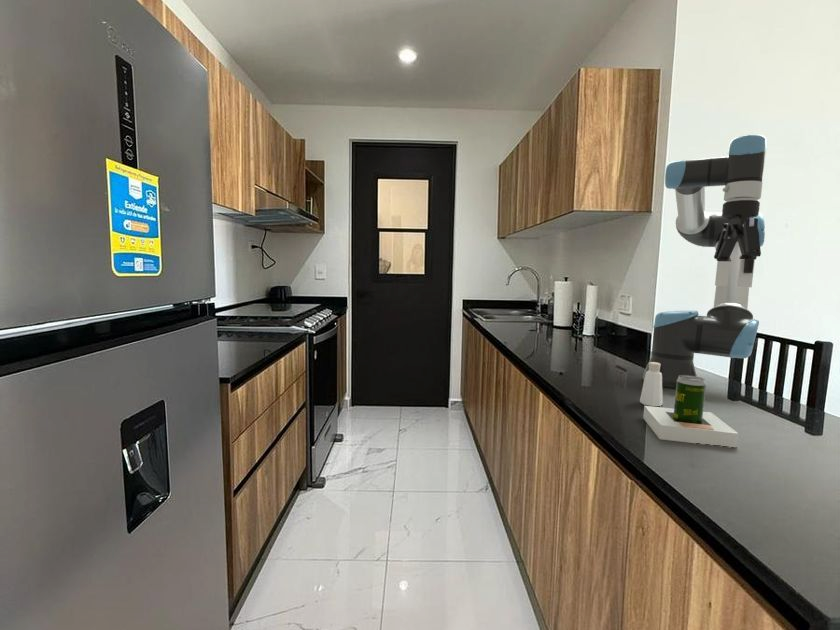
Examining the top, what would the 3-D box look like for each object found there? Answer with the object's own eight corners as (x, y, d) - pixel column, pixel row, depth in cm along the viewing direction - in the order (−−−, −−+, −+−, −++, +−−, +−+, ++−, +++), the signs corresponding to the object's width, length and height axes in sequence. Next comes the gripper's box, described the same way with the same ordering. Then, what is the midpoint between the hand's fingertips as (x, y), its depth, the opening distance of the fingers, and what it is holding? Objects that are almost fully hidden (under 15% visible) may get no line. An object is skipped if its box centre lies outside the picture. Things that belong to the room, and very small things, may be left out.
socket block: (643, 418, 105) (644, 404, 105) (709, 425, 102) (711, 411, 101) (659, 439, 92) (660, 424, 91) (736, 448, 88) (738, 432, 88)
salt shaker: (663, 408, 114) (668, 365, 113) (640, 405, 116) (644, 363, 115) (661, 402, 119) (665, 362, 118) (638, 399, 121) (642, 359, 120)
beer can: (691, 428, 99) (696, 375, 98) (706, 437, 94) (712, 381, 93) (667, 426, 99) (672, 374, 98) (680, 435, 94) (685, 380, 93)
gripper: (705, 208, 124) (698, 284, 126) (747, 192, 100) (737, 287, 102) (736, 208, 122) (728, 285, 124) (786, 192, 98) (775, 288, 100)
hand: (732, 286), depth 113 cm, fingers open, 13 cm apart
